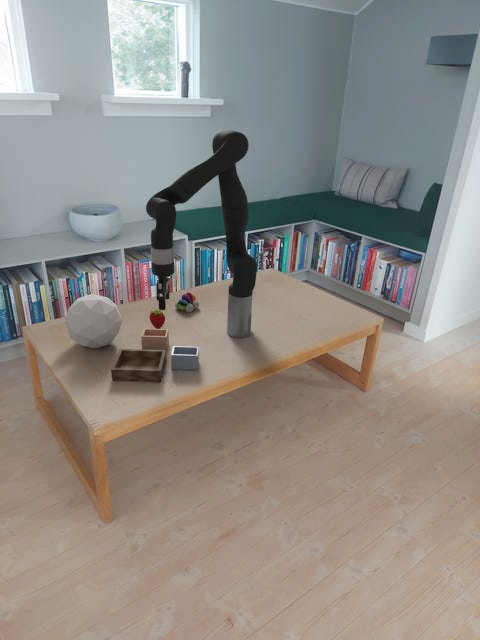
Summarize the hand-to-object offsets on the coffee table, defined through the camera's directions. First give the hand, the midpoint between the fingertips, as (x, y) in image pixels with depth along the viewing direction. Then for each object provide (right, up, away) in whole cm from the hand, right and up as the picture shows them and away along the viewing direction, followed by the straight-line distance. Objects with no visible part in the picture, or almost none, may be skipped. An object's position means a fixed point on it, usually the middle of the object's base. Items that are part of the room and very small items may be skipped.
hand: (164, 304), depth 160 cm
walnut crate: (-8, -23, -2) cm, 24 cm away
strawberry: (-7, -10, +24) cm, 27 cm away
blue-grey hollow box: (+7, -21, +2) cm, 23 cm away
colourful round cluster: (+3, -1, +42) cm, 43 cm away
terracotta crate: (-5, -15, +13) cm, 21 cm away
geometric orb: (-27, -14, +13) cm, 33 cm away
